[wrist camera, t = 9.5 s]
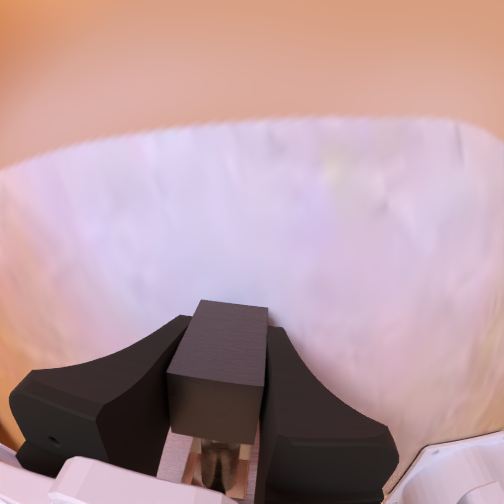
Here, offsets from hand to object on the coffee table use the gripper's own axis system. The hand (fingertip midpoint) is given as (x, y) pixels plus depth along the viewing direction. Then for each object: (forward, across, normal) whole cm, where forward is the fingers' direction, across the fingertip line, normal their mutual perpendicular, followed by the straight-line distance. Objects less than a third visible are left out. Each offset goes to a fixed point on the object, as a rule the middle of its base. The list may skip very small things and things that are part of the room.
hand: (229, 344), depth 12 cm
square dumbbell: (+1, 0, +4) cm, 4 cm away
